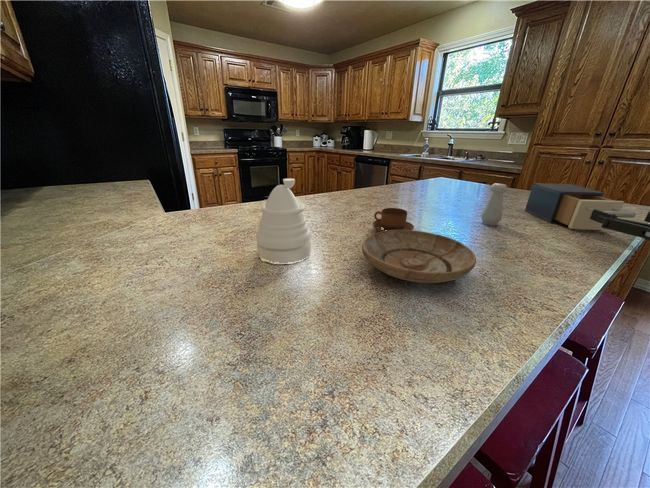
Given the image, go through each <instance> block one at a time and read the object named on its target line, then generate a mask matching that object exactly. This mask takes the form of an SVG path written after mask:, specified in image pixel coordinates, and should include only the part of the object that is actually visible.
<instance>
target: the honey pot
mask: <svg viewBox="0 0 650 488" xmlns="http://www.w3.org/2000/svg"><path fill="white" fill-rule="evenodd" d="M282 181H283V184H278V185H276V186H275V187H274V188H273V189H272V190H271V192H270V193H269V195H268V197H267V199H266V202H265V203H264V204H263V205H262V206H261V208H260V209H261V211H262V214H261V218H260V219H259V225H258V228H257V229H258V230H257V232H256V248H257V255H258V254H259V256H260V257H262V258H264V259H266V260H269V261H272V262H279V263H288V262H295V261H299V260H302V259H304V258H306V257H307V256H309V254H310V252H311V253H312V240H311V231H310V229H309V226H308V223H307V219H306V218H305V216H304V211H305V210H306V206H305V204H304V203H302V202H300V201H298V199H297V198H296V196H295V194H294V193H293V191H292V190H291V189H292V188H293V187H294V186H295V183H296V179H295V178H283V179H282ZM310 255H311V254H310ZM309 257H310V256H309Z"/></svg>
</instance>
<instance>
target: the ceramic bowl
mask: <svg viewBox="0 0 650 488" xmlns="http://www.w3.org/2000/svg"><path fill="white" fill-rule="evenodd" d="M361 252H362V255H363V256H364V257H365V259H366V260H367V262H368V263H369V264H370V265H372V266H373V267H374V268H376V269H377V270H378V271H381V272H382V273H384V274H386V275H388V276H390V277H393V278H396V279H399V280H404V281H408V282H410V283H411V282H412V283H421V284H438V283H439V284H441V283H444V282H450V281H454V280H457V279H460V278H462V277H464V276H465V275H468V274H469V273H470V272H471V271H472V270H473V269H474V268H475V266H476V262H477V257H476V254H475V252H473V250H472V249H471V248H470V247H468V246H466V245H465V244H464V243H463V242H460V241H458V240H455V239H453V238H450V237H448V236H445V235H441V234H437V233H433V232H427V231H423V230H422V231H421V230H414V229H413V230H388V231H383V232H380V231H378V232H375V233H372V234H370V235H368V236H366V238H365V239H363V241H362V243H361Z"/></svg>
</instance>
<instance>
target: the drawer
mask: <svg viewBox="0 0 650 488" xmlns="http://www.w3.org/2000/svg"><path fill="white" fill-rule="evenodd" d="M624 205H625V201H623V200H614V199H610V198H608V197H607V198H606V197H603V196H602V197H600V196H596V195H580V194H563V195H562V197H561V200H560V203H559V206H558V208H557V211H556V214H555V217H554V219H555V220H557V221H559V222H562V223H561V224H564V225H566V226H568V228H569V229H571V230H590V231H591V230H593V231H611V230H610V229H606V228H602V227H601V226H602V223H599V222H596V221H594V220H591V219H590V217H591V214H592V212H593V209H597V210H600V211H603V212H606V213H609V214H616V216H618V217H617V218H623V219H627V218H628V219H629V218H630V219H632V218H635V217H636V215H637V213H636V212H635V211H625V210H622V209H623V207H624Z"/></svg>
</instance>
